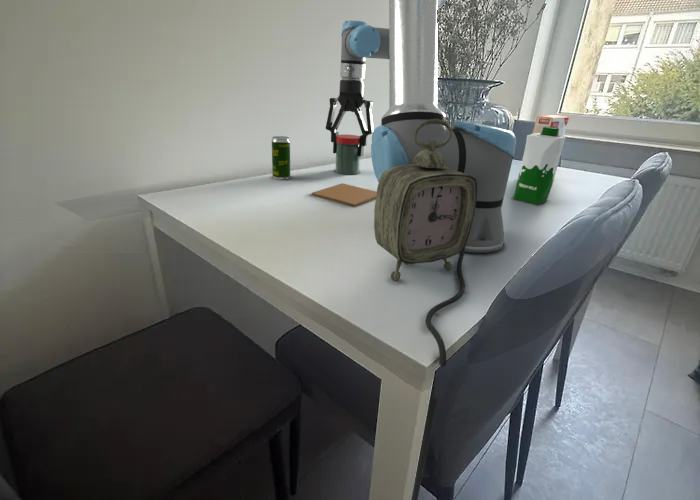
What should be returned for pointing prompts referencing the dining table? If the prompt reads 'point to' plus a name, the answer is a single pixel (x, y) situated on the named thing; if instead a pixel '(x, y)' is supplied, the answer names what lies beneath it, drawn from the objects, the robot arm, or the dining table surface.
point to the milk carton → (539, 165)
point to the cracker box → (551, 123)
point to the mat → (346, 194)
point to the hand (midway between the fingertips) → (348, 154)
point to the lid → (348, 139)
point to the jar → (347, 159)
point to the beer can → (281, 157)
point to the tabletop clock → (424, 207)
